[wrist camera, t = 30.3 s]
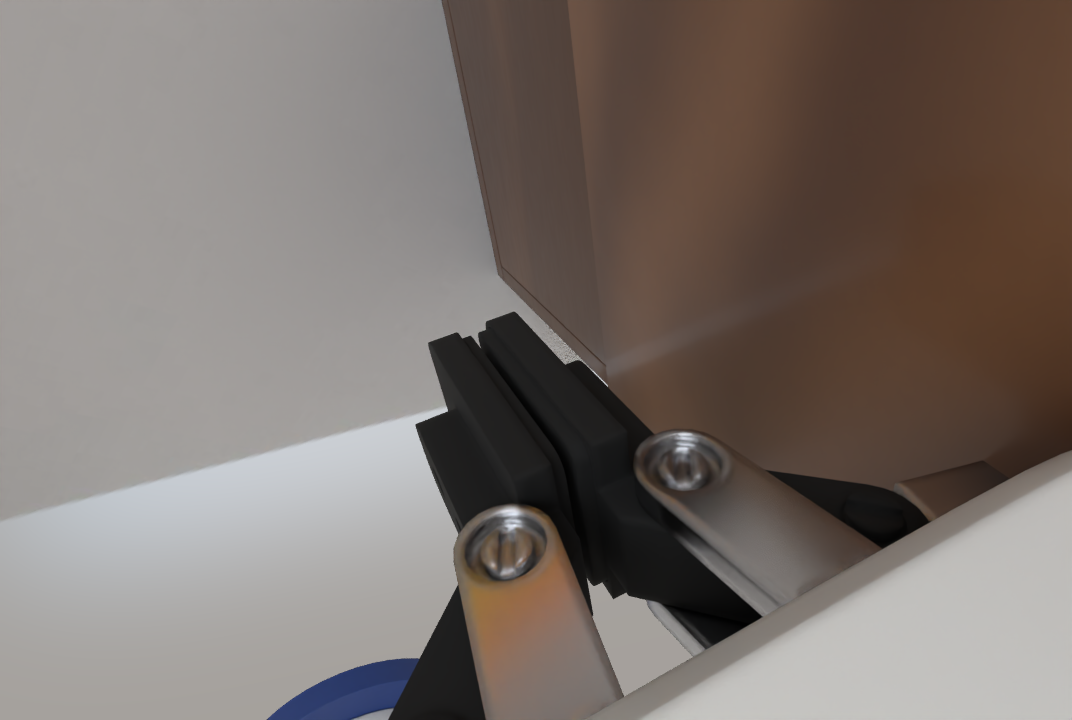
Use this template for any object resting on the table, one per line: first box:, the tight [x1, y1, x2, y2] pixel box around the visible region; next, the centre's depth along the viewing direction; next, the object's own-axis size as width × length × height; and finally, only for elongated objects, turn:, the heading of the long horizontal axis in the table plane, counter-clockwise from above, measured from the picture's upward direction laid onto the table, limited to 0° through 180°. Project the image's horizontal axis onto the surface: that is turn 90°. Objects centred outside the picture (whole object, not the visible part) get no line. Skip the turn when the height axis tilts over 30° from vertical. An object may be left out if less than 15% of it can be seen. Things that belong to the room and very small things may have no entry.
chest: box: [442, 0, 608, 385], centre depth 26 cm, size 17×15×12 cm
